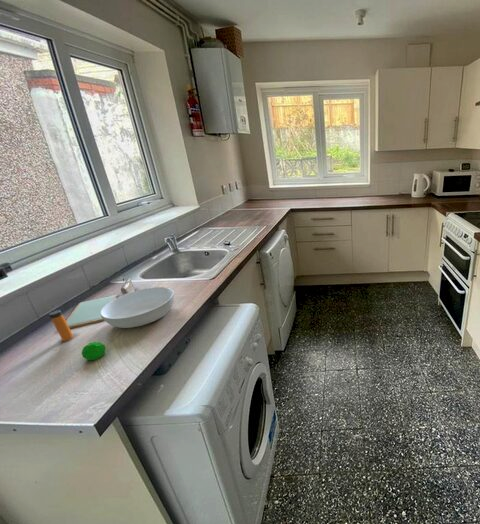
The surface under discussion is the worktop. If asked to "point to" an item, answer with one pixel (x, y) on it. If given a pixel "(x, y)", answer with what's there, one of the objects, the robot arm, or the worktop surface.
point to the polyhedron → (93, 351)
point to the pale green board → (88, 312)
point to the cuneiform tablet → (127, 287)
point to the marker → (61, 325)
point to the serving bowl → (138, 307)
